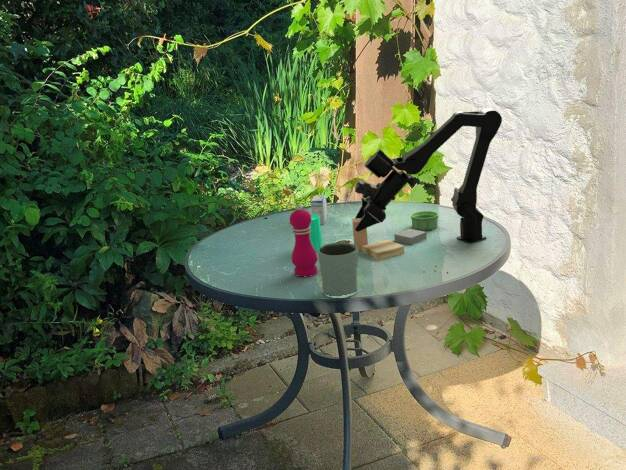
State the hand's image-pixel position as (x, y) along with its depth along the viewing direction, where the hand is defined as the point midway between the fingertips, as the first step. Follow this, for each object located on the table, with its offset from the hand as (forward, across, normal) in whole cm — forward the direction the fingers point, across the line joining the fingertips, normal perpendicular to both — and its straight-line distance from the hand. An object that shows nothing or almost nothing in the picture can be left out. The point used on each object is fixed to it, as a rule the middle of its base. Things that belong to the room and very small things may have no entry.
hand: (355, 226), depth 205 cm
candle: (+15, -3, -4) cm, 16 cm away
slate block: (-7, -4, +17) cm, 19 cm away
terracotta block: (+4, 0, +6) cm, 7 cm away
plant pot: (+9, +35, +1) cm, 36 cm away
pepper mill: (+16, +18, -6) cm, 25 cm away
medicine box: (+13, -34, -3) cm, 37 cm away
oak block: (0, +6, +11) cm, 12 cm away
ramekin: (-11, -16, +22) cm, 29 cm away
